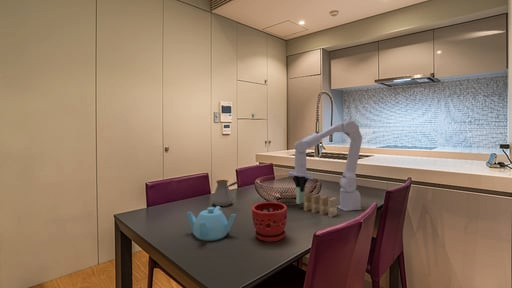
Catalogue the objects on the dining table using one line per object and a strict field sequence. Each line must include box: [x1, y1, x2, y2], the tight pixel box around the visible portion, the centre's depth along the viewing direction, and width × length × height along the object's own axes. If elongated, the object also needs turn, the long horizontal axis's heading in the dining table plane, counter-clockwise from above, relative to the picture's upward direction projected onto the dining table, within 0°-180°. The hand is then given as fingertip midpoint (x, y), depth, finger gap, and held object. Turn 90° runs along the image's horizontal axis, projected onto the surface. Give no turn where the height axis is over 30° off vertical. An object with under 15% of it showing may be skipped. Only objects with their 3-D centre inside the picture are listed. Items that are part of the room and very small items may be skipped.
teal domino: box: [295, 187, 306, 205], centre depth 144 cm, size 2×5×8 cm, turn 136°
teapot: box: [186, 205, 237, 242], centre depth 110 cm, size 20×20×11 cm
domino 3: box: [319, 195, 329, 216], centre depth 135 cm, size 2×5×8 cm, turn 136°
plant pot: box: [251, 201, 288, 243], centre depth 107 cm, size 13×13×12 cm
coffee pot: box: [211, 179, 242, 207], centre depth 148 cm, size 21×12×15 cm, turn 39°
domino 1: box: [303, 192, 313, 212], centre depth 141 cm, size 2×5×8 cm, turn 136°
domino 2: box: [311, 193, 321, 214], centre depth 138 cm, size 2×5×8 cm, turn 136°
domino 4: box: [327, 196, 338, 218], centre depth 132 cm, size 2×5×8 cm, turn 136°
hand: (300, 191), depth 144 cm, fingers closed on teal domino, 1 cm apart
